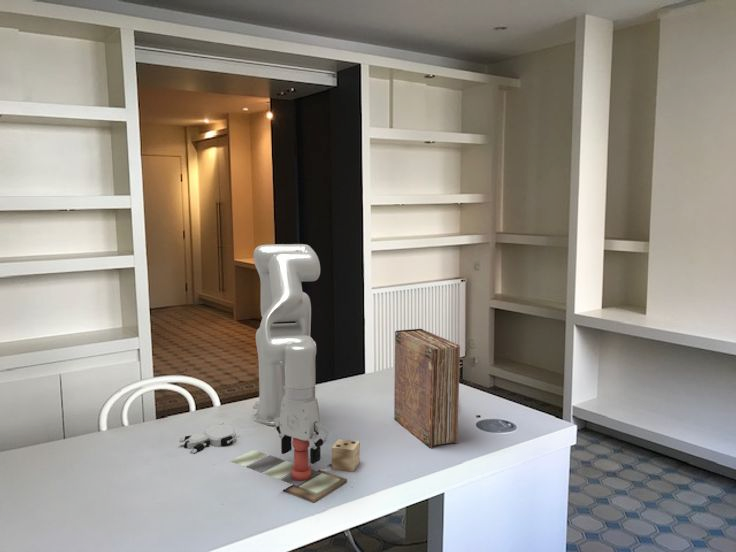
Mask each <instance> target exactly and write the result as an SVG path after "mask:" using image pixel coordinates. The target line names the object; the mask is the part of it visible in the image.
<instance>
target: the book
mask: <svg viewBox="0 0 736 552" xmlns="http://www.w3.org/2000/svg"><path fill="white" fill-rule="evenodd" d="M460 354H461V345H460V344H458V343H456V342H454V341H451V340H450V339H447V338H445V337H442V336H440V335H437V334H435V333H432V332H430V331H427V330H425V329H422V328H415V329H414V328H413V329H401V330H395V331H394V402H393V403H394V406H393V407H394V411H393V412H394V413H393V415H394V417H393V419H394V421H396V422H397V423H398V424H399V425H401V426H402V427H403V428H404V429H405V430H407V431H408V432H409V433H411V435H413V436H414V437H415V438H417V439H418V440H419V441H420V442H421V443H422V444H424V445H425V446H426V447H427V448H429V449H430V448H431V449H432V447H434V446H438V445H439V446H440V445H445V444H446V445H447V444H451V443H454V444H458V435H459V434H458V433H459V431H458V430H459V429H458V428H459V397H460V396H459V395H460V361H461V360H460V359H461V358H460V356H461V355H460Z"/></svg>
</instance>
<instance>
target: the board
mask: <svg viewBox="0 0 736 552" xmlns="http://www.w3.org/2000/svg"><path fill="white" fill-rule="evenodd" d="M229 462H231V463H234V464H237V465H239V466H242V467H246V468H247V469H251V470H252V471H256V472H258V473H261V474H264V475H266V476H269V477H271V478H274V479H277V480H280V481H283V482H286V483H288V484H290V486H288V487H286V488H284V489H282V490H281V491H282V492H284V493H287V494H289V495H292V496H295V497H297V498H299V499H303V500H305V501H308V502H310V503H312V504H313V503H316V502H318V501H319V500H321V499H322V498H324V497H326V496H327V495H329V494H331V493H333V491H335V490H336V489H338V488H340V487H341V486H343V485H344V484H346V483H348V479H347V478H344V477H342V476H338V475H336V474H333V473H330V472H326V471H324V470H321V469H317V470H315V469H312V468H311V478H310V479H308V480H305V481H296V480H294V479H292V477H291V469H292V467H294V462H291V461H287V460H285V459H282V458H280V457H276V456H273V455H270V454H267V453H264V452H262V451H259V450H255V449H252V450H250V451H248V452H246V453H244V454H242V455H241V454H240V455H239V456H236V457H235V458H233V459H231V460H229Z"/></svg>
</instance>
